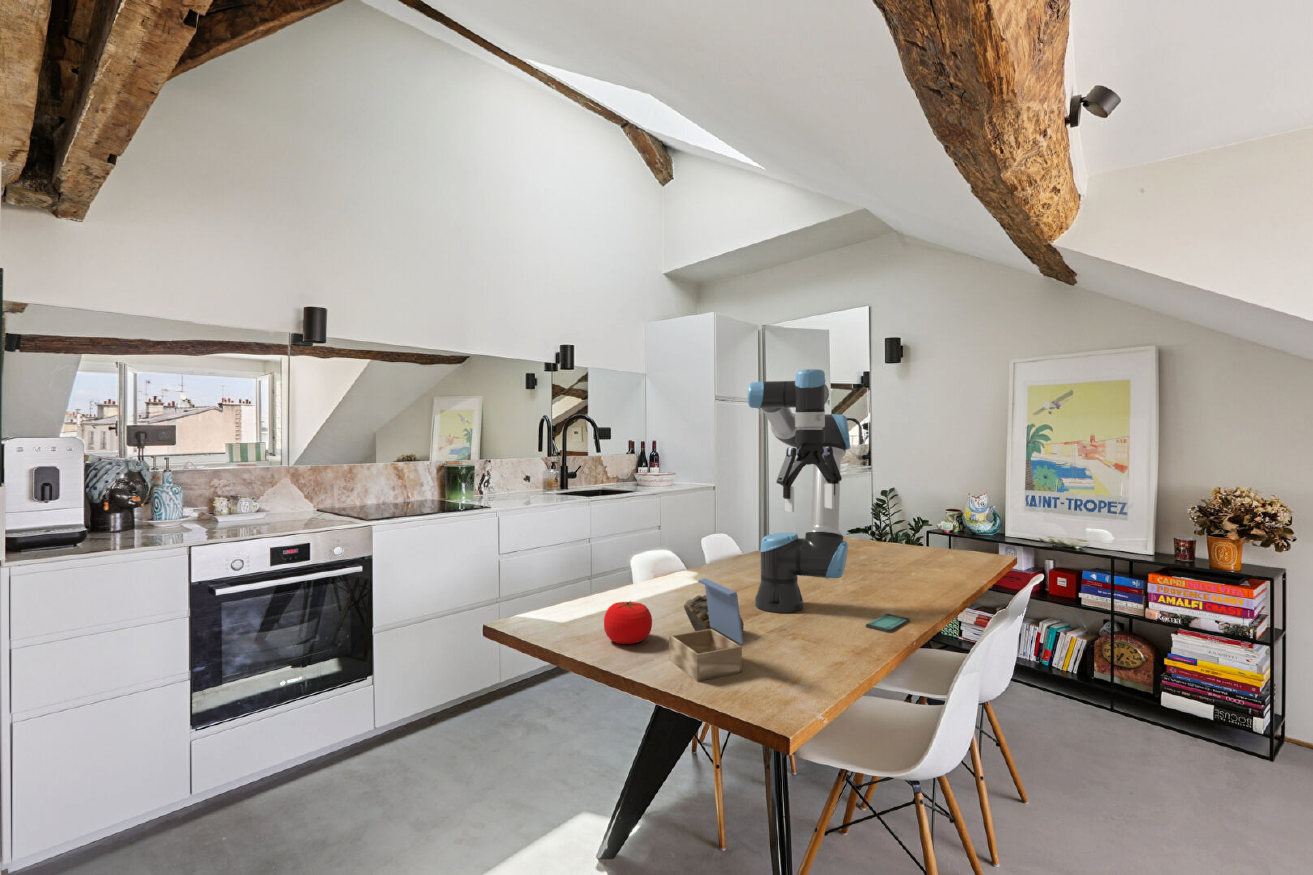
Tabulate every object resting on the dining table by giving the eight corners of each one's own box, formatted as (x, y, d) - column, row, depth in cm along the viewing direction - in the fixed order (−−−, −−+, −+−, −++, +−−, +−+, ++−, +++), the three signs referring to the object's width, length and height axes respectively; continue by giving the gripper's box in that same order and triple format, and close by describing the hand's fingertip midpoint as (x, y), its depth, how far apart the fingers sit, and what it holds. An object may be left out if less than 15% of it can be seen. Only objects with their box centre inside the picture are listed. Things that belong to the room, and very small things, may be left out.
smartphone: (910, 617, 178) (889, 629, 167) (910, 622, 178) (889, 634, 167) (886, 612, 183) (864, 623, 173) (886, 616, 183) (864, 628, 173)
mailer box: (669, 659, 148) (669, 635, 148) (711, 651, 153) (711, 628, 153) (697, 681, 135) (697, 654, 135) (741, 672, 140) (741, 646, 140)
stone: (696, 603, 156) (727, 575, 167) (675, 608, 163) (707, 581, 173) (726, 657, 156) (755, 625, 167) (704, 660, 162) (734, 630, 173)
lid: (698, 580, 151) (705, 578, 152) (704, 627, 152) (711, 625, 153) (729, 594, 138) (736, 591, 139) (735, 646, 139) (743, 643, 140)
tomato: (597, 634, 166) (597, 597, 166) (641, 629, 171) (641, 592, 170) (612, 652, 153) (612, 612, 153) (659, 646, 157) (659, 606, 157)
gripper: (781, 429, 148) (781, 514, 148) (855, 428, 159) (855, 508, 160) (762, 429, 154) (762, 511, 155) (835, 428, 166) (834, 505, 166)
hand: (809, 509), depth 157 cm, fingers open, 13 cm apart
